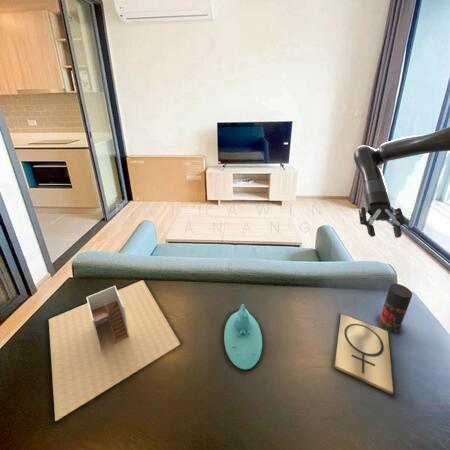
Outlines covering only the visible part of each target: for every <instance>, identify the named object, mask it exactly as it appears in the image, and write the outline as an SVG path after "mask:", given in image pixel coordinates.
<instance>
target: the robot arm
mask: <svg viewBox="0 0 450 450" xmlns="http://www.w3.org/2000/svg"><path fill="white" fill-rule="evenodd" d="M440 152H450V125H449V126H447V127H444V128H442V129H439V130H437V131H432V132H429V133H426V134H421V135H420V134H419V135H412V136H411V135H410V136H405V137H401V138H397V139H393V140H391V141H386V142H384V143H382V144H381V145H379V147H378V148H377V149H375V148H373V147H370V146H368V145H360V146H358V147H357V148H355V150H354V153H353V161H354V163H355V166H356V168H357V169H358V172H359V174H360V176H361V181H362V187H363V196H364V199H365V205H366V207H364V206H362V207H360V208H359V209H358V216H359V224H360V225H362V226H365V227H366V230H367V234H368V236H369V237H371V238H374V237H376V232H375V226H374V223H375V222H377V221H378V222H379V221H381V222H387V223H388V224H390V225H391V226H392V230H393V234H394V237H395V238H396V239H399V238H401V237H402V234H403V233H402V229H401V227H402V226H403V225H405V224H406V220H405V216H404V214H403V211H402V208H400V207H397V208H392V206H391V200H390V196H389V192H388V188H387V185H386V182H385V178H384V174H383V172H382V170H381V168H380V167H379V166H381V165H384V164H386V163H389V161H396V160H401V159H404V158H410V157H414V156H415V157H416V156H419V155H425V154H432V153H433V154H434V153H440ZM367 214H368V215H369V217H368V219H367Z"/></svg>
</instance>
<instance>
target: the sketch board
mask: <svg viewBox="0 0 450 450" xmlns="http://www.w3.org/2000/svg"><path fill="white" fill-rule="evenodd" d="M337 335H338V336H337V344H336V351H335V359H334V360H335V361H334V369H336V370H339V371H341V372H343V373H345V374H347V375H348V376H351V377H354V378H355V379H358V380H360V381H362V382H364V383H366V384H368V385H370V386H373V387H375V388H377V389H380V390H381V391H384V392H386V393H387V394H390V395H393V394H394V385H393V374H392V364H391V350H390V341H389V339H390V338H389V331H387V330H386V329H384V328H380V327H377V326H374V325H372V324H369V323H367V322H365V321H361V320H359V319H356V318H353V317H350V316H348V315H345V314H342V313H341V314H340V320H339V327H338V334H337Z"/></svg>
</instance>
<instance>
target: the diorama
mask: <svg viewBox="0 0 450 450" xmlns="http://www.w3.org/2000/svg"><path fill="white" fill-rule="evenodd" d="M223 333H224V334H223V340H224V347H225V352H226V355H227V356H228V358H229V360H230V361H231V362H232V364H233V365H234V366H235V367H237V368H238V369H240V370H245V371H246V370H250V369H252V368H253V367H254V366H256V364H257V363H258V361H259V360H260V357H261V354H262V351H263V350H262V349H263V336H262V332H261V328H260V325H259V323H258V321H257V320H256V319H255V317H254V316H253V315H252V314H251V313H250V312H249V311H248V309H246V307H245V303H242V304H241V305H240V307H239V310H238V311H236V312H234V313H232V314H231V315H230V316H229V318H228V319H227V321H226V324H225V327H224V332H223Z"/></svg>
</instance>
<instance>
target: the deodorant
mask: <svg viewBox="0 0 450 450" xmlns="http://www.w3.org/2000/svg"><path fill="white" fill-rule="evenodd" d="M412 297H413V293H412V291H411V290H410V289H409V288H408V287H406V286H405V285H402V284H399V283H391V284H390V285H389V288H388V291H387V294H386V298H385V301H384V304H383V307H382V310H381V313H380V317H379V321H378V322H379V325H380V326H381V327H382V329H383V330H386V331H388V333H389V332H390V333H392V334H393V333H394V334H396V333H399V332H400V330H401V328H402V325H403V323H404V319H405V316H406V314H407V311H408V309H409V305H410V303H411V299H412Z"/></svg>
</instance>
